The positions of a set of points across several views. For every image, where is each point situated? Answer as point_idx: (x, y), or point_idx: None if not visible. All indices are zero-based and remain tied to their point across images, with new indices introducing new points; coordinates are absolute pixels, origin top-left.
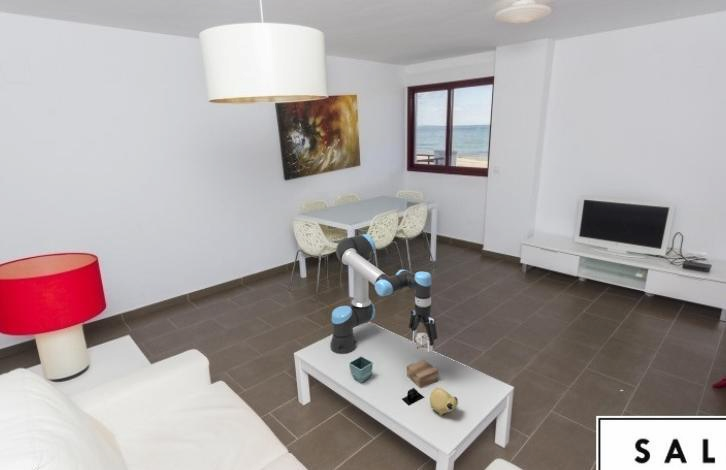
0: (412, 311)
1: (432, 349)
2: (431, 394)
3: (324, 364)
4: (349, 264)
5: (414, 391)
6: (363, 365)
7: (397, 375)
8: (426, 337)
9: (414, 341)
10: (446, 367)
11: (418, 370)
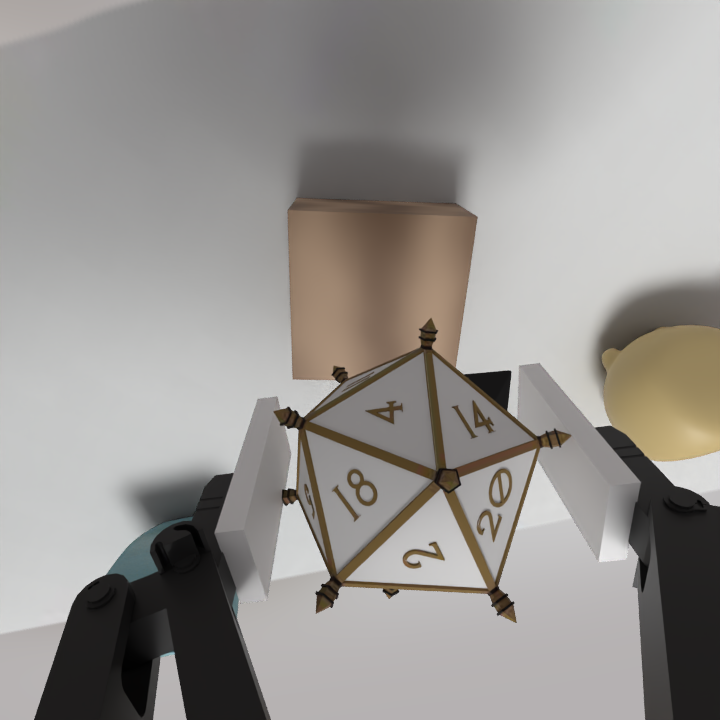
0: None
1: (542, 368)
2: (655, 459)
3: (12, 612)
4: None
5: None
6: (141, 550)
7: (265, 385)
8: (504, 504)
9: (286, 460)
10: (372, 5)
11: (381, 342)
